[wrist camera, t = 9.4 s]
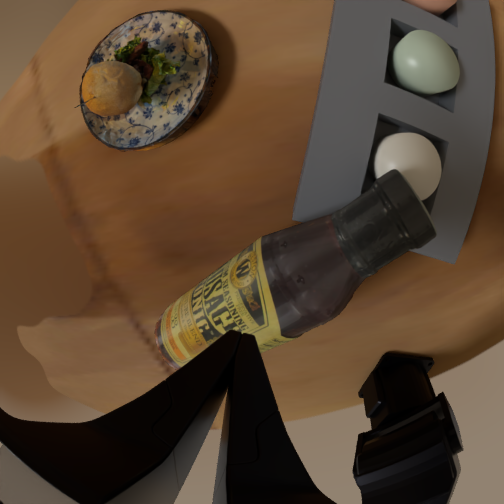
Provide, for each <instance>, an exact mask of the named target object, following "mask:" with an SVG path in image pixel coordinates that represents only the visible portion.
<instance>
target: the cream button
mask: <svg viewBox="0 0 504 504" xmlns="http://www.w3.org/2000/svg"><path fill="white" fill-rule="evenodd" d="M368 166H369V171H370V174H371V176H372V178H373V179H374V181H376V179H377V178H379V177H381V176H382V175H384V174H385V173H387V172H389V171H390V170H392V169H397V170H398V171H399V172H401V174H403V175H404V177H405V178H406V179H407V181H408V182H409V183H410V185H411V186H412V188H413V189H414V191H415V192H416V194H417V195H418V197H419V198H420V200H421V201H422V200H424V199H426V198H427V197H429V196H430V195H431V194H432V193H433V192H434V191H435V189H436V188H437V186H438V184H439V181H440V177H441V161H440V157H439V154H438V152H437V150H436V148H435V147H434V145H433V144H432V143H431V142H430V141H429V140H428V139H427V138H425V137H424V136H422V135H419V134H416V133H393V134H387V135H384V136H382V137H380V138H379V139H377V140H376V141H375V142H374V144H373V145H372V148H371V152H370V157H369V161H368Z"/></svg>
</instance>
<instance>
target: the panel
mask: <svg viewBox="0 0 504 504" xmlns="http://www.w3.org/2000/svg"><path fill="white" fill-rule="evenodd" d="M414 30H425V31H429V32H431V33H434V34H436V35H437V36H439V37H440V38H442V39H443V40H444V41H445V42H446V43H447V44H448V45H449V46H450V48H451V49H452V50H453V52H454V54H455V56H456V58H457V60H458V63H459V69H460V76H459V80H458V82H457V84H456V85H455V86H454V87H453V88H452V89H449V90H446V91H443V92H439V93H436V94H432V95H429V96H425V97H419V96H417V95H414V94H412V93H410V92H407V91H405V90H403V89H401V88H400V87H399V86H398V85H397V84H396V83H395V81H394V80H393V78H392V77H391V75H390V72H389V70H388V65H387V58H388V54H389V52H390V50H391V49H392V48H393V47H394V46H395V45H396V44H397V43H398V42H400V41H401V40H402V39H403V38H404V37H405V36H406V35H407V34H408V33H410V32H412V31H414ZM494 97H495V49H494V36H493V26H492V19H491V12H490V6H489V1H488V0H457V2H456V3H455V4H453V5H452V6H451V7H450V8H448V9H447V10H446V11H444V12H443V13H442V14H441V15H439V16H438V17H437V16H435V15H433V14H431V13H429V12H427V11H425V10H422V9H420V8H418V7H416V6H414V5H411V4H409V3H407V2H404V1H402V0H334V5H333V11H332V17H331V24H330V30H329V36H328V41H327V47H326V53H325V58H324V64H323V69H322V75H321V80H320V85H319V90H318V96H317V101H316V106H315V111H314V116H313V120H312V125H311V130H310V135H309V140H308V144H307V149H306V154H305V158H304V163H303V167H302V172H301V176H300V181H299V185H298V190H297V194H296V198H295V203H294V207H293V218H292V220H295V221H299V222H307V221H310V220H313V219H317V218H320V217H323V216H326V215H329V214H332V213H334V212H335V211H337V210H340V209H342V208H343V207H345V206H346V205H348V204H349V203H350V202H352V201H353V200H355V199H356V198H357V197H359V196H360V195H362V194H363V193H365V192H366V191H368V190H369V189H371V187H372V186H373V184H374V182H375V181H374V179H373V178H372V176H371V174H370V171H369V166H368V161H369V157H370V152H371V148H372V145H373V144H374V142H375V141H376V140H377V139H379V138H380V137H382V136H384V135H387V134H393V133H416V134H419V135H422V136H424V137H425V138H427V139H428V140H429V141H430V142H431V143H432V144H433V145H434V147H435V148H436V150H437V152H438V154H439V157H440V161H441V177H440V181H439V184H438V186H437V188H436V189H435V191H434V192H433V193H432V194H431V195H430V196H429V197H427V198H426V199H424V200H422V203H423V204H424V206H425V208H426V209H427V211H428V213H429V215H430V217H431V219H432V220H433V223H434V225H435V228H436V231H437V235H436V237H435V238H434V239H432V240H431V241H430V242H428V243H427V244H425V245H424V246H423V247H422V248H418V249H412V250H409V251H412V252H415V253H419V254H422V255H425V256H429V257H432V258H435V259H439V260H442V261H445V262H448V263H451V264H455V262H456V260H457V257H458V255H459V252H460V250H461V247H462V244H463V242H464V239H465V236H466V233H467V230H468V228H469V225H470V222H471V218H472V215H473V212H474V209H475V205H476V202H477V198H478V195H479V191H480V187H481V183H482V179H483V174H484V170H485V165H486V160H487V155H488V149H489V143H490V137H491V129H492V121H493V111H494Z"/></svg>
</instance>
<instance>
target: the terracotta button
mask: <svg viewBox="0 0 504 504" xmlns="http://www.w3.org/2000/svg"><path fill="white" fill-rule="evenodd" d="M402 1H404V2H407V3H409V4H411V5H414V6H416V7H418V8H420V9H422V10H425V11H427V12H429V13H431V14H433V15H435V16H437V17H438V16H439V15H441V14H442V13H443V12H444V11H446V10H447V9H448V8H450V7H451V6H452V5H453V4H455V3H456V2H457V0H402Z"/></svg>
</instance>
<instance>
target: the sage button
mask: <svg viewBox="0 0 504 504" xmlns="http://www.w3.org/2000/svg"><path fill="white" fill-rule="evenodd" d="M387 65H388V70H389V72H390V75H391V77H392V78H393V80H394V81H395V83H396V84H397V85H398V86H399V87H400V88H401V89H403V90H405V91H407V92H410V93H412V94H414V95H417V96H419V97H425V96H429V95H432V94H436V93H439V92H443V91H446V90H449V89H452V88H453V87H454V86H455V85H456V84H457V82H458V80H459V76H460V69H459V63H458V60H457V58H456V56H455V54H454V52H453V50H452V49H451V48H450V46H449V45H448V44H447V43H446V42H445V41H444V40H443V39H442V38H440V37H439V36H437V35H436V34H434V33H431V32H429V31H425V30H414V31H412V32H410V33H408V34H407V35H406V36H405V37H404V38H403V39H402V40H401V41H400V42H398V43H397V44H396V45H395V46H394V47H393V48H392V49H391V50H390V52H389V54H388V58H387Z"/></svg>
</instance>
